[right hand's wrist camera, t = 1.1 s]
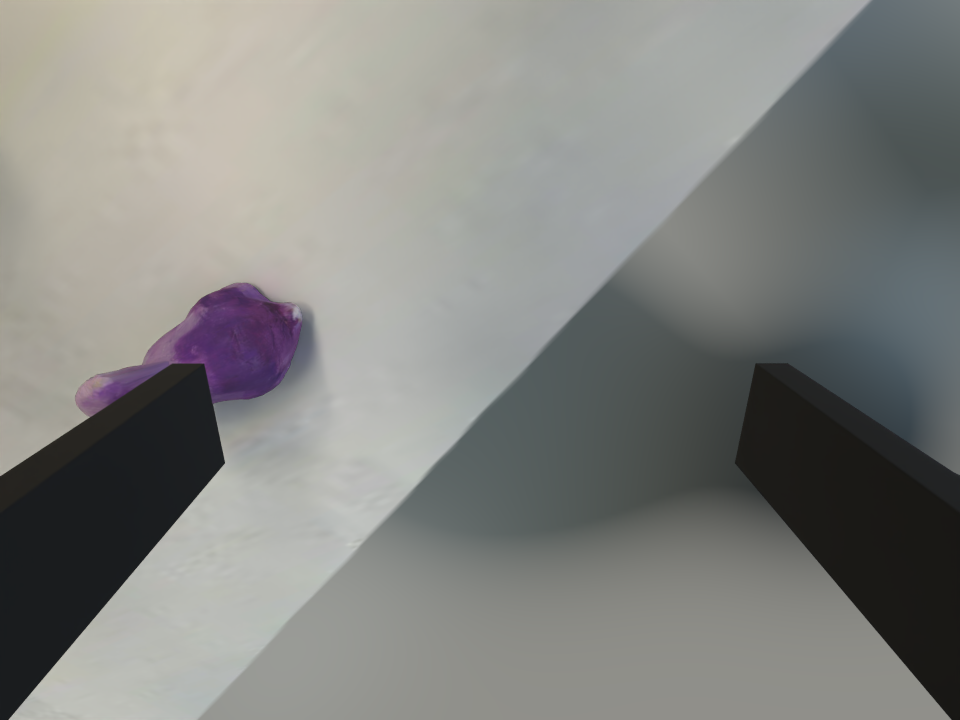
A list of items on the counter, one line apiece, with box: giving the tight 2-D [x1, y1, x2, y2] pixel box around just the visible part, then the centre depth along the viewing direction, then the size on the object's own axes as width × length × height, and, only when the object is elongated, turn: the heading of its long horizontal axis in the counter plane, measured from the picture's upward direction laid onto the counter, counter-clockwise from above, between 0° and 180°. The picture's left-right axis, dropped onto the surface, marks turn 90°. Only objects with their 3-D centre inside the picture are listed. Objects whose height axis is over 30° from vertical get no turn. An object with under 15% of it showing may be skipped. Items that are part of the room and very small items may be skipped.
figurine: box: [75, 283, 302, 417], centre depth 34 cm, size 9×10×15 cm
